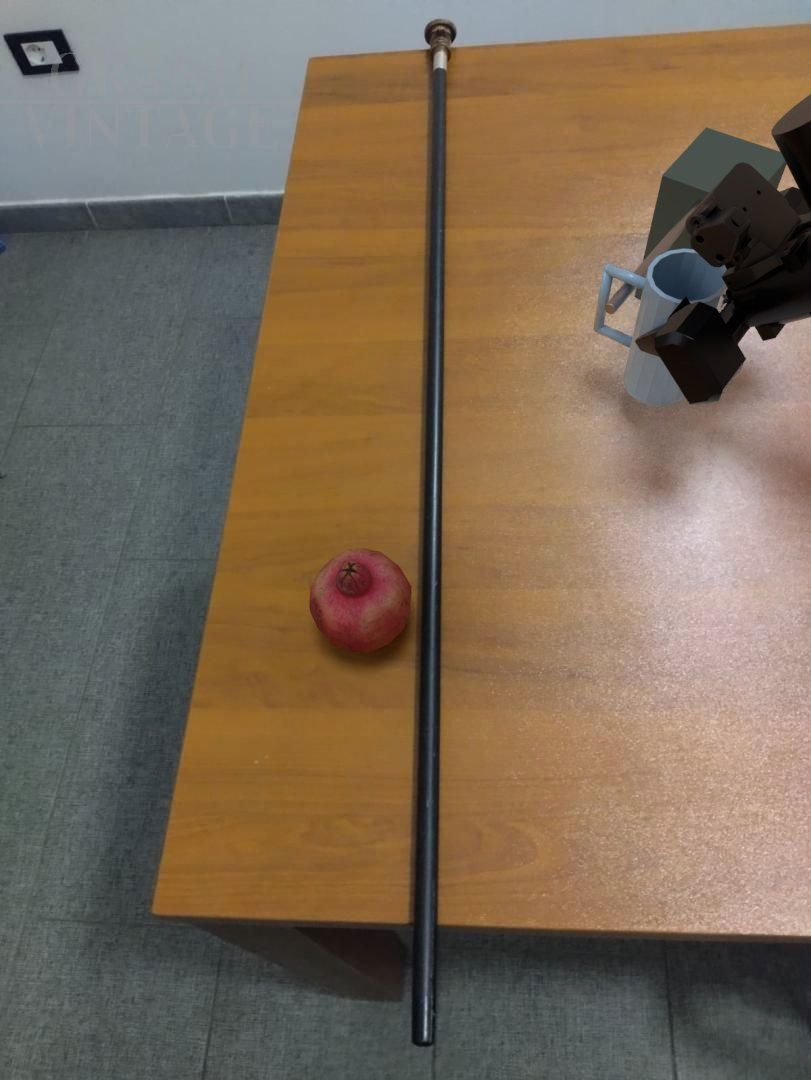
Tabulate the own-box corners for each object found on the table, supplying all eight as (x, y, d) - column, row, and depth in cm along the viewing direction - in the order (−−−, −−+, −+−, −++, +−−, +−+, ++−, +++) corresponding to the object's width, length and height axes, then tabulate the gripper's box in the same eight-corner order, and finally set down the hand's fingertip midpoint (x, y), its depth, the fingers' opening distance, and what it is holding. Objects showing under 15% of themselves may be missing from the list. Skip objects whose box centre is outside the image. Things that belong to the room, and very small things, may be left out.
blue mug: (703, 373, 67) (743, 267, 57) (670, 417, 65) (705, 315, 55) (606, 329, 71) (627, 221, 61) (572, 369, 69) (587, 264, 59)
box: (555, 389, 73) (569, 276, 61) (672, 251, 81) (706, 126, 68) (627, 426, 70) (657, 315, 58) (742, 280, 78) (790, 154, 65)
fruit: (435, 632, 62) (427, 579, 53) (352, 685, 60) (330, 640, 52) (383, 561, 66) (368, 501, 57) (304, 610, 64) (276, 556, 55)
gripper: (855, 76, 49) (666, 174, 63) (717, 241, 43) (542, 310, 56) (918, 221, 53) (728, 284, 66) (801, 392, 47) (618, 422, 60)
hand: (658, 320), depth 62 cm, fingers closed on blue mug, 6 cm apart
